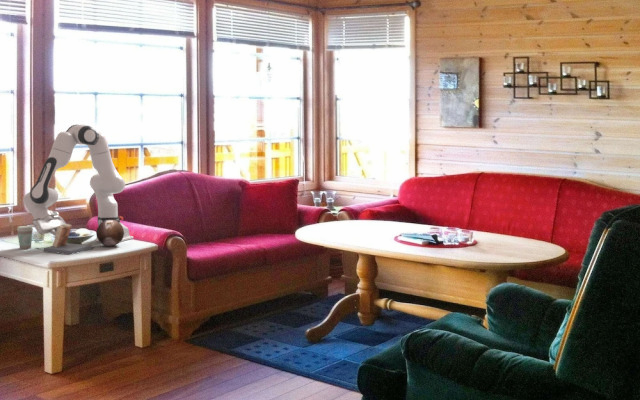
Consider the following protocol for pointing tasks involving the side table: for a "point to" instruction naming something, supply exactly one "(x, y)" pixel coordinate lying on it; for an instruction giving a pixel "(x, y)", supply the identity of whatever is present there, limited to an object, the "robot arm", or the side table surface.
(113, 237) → the wooden sphere
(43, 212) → the robot arm
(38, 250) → the side table surface
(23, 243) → the coffee cup
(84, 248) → the board
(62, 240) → the plaque
